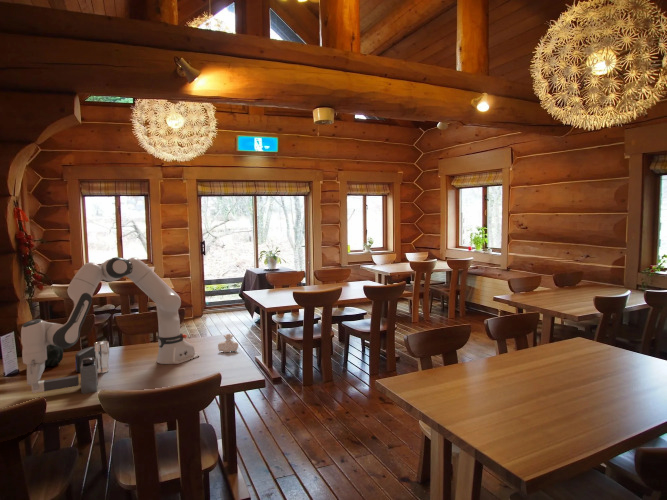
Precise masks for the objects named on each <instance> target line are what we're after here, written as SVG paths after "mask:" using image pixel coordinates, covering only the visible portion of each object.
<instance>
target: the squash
mask: <svg viewBox="0 0 667 500" xmlns="http://www.w3.org/2000/svg"><path fill="white" fill-rule="evenodd" d="M46 348H47V360H45V367H55V366H56V365H58V364H60V362H62V361H63V357H64V348H61V347H58V346H54V345H47V347H46Z"/></svg>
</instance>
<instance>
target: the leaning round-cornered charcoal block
mask: <svg viewBox="0 0 667 500" xmlns="http://www.w3.org/2000/svg"><path fill="white" fill-rule="evenodd" d="M88 357H94V358H95V356H94V346H89V347H86V348H83V349H80V350H79V351H77V352H76V353H75V357H74V358H75V361H74V363H75V371H76V373H80V367H81V363H82V359H84V358H88Z"/></svg>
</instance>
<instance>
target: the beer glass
mask: <svg viewBox="0 0 667 500" xmlns="http://www.w3.org/2000/svg"><path fill="white" fill-rule="evenodd" d="M93 347H94V356H95V359H97V374H105V373H108V372H110V367H109V357H110V344H109V341H108V340H102V341H97V342H94V343H93Z"/></svg>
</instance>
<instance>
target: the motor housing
mask: <svg viewBox="0 0 667 500" xmlns="http://www.w3.org/2000/svg"><path fill="white" fill-rule="evenodd" d="M79 373H80V387H81V388H80V390H81V395H83V394H89V393H97V392H98V385H99V380H98V379H99V378H98V377H99V376H98V374H99V373H97V359H95V358H94V357H88V358H84V359H82V363H81V367H80V372H79Z"/></svg>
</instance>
